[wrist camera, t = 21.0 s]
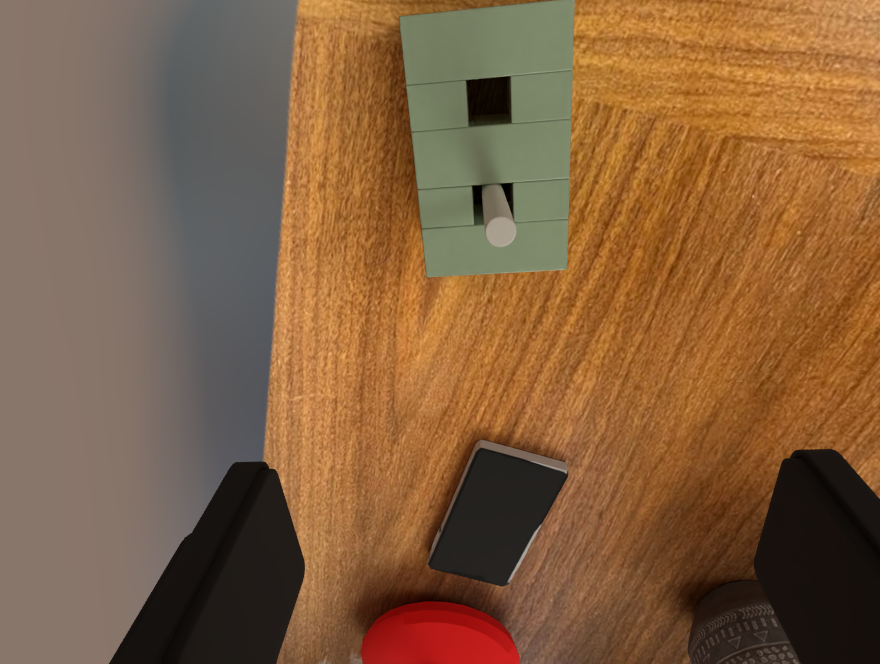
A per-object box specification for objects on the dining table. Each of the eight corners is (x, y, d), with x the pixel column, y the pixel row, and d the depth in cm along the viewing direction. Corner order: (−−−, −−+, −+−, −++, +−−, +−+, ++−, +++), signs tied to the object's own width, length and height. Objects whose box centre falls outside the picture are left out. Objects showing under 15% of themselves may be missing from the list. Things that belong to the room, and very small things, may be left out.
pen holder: (557, 243, 35) (567, 269, 31) (432, 251, 36) (426, 277, 32) (561, 3, 28) (574, -3, 24) (409, 19, 29) (398, 16, 25)
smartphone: (572, 472, 43) (508, 588, 50) (570, 462, 44) (507, 576, 51) (476, 446, 42) (424, 567, 49) (476, 436, 43) (425, 556, 50)
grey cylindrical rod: (482, 195, 34) (485, 248, 21) (480, 175, 33) (483, 217, 20) (501, 194, 33) (517, 246, 20) (500, 174, 33) (515, 214, 20)
